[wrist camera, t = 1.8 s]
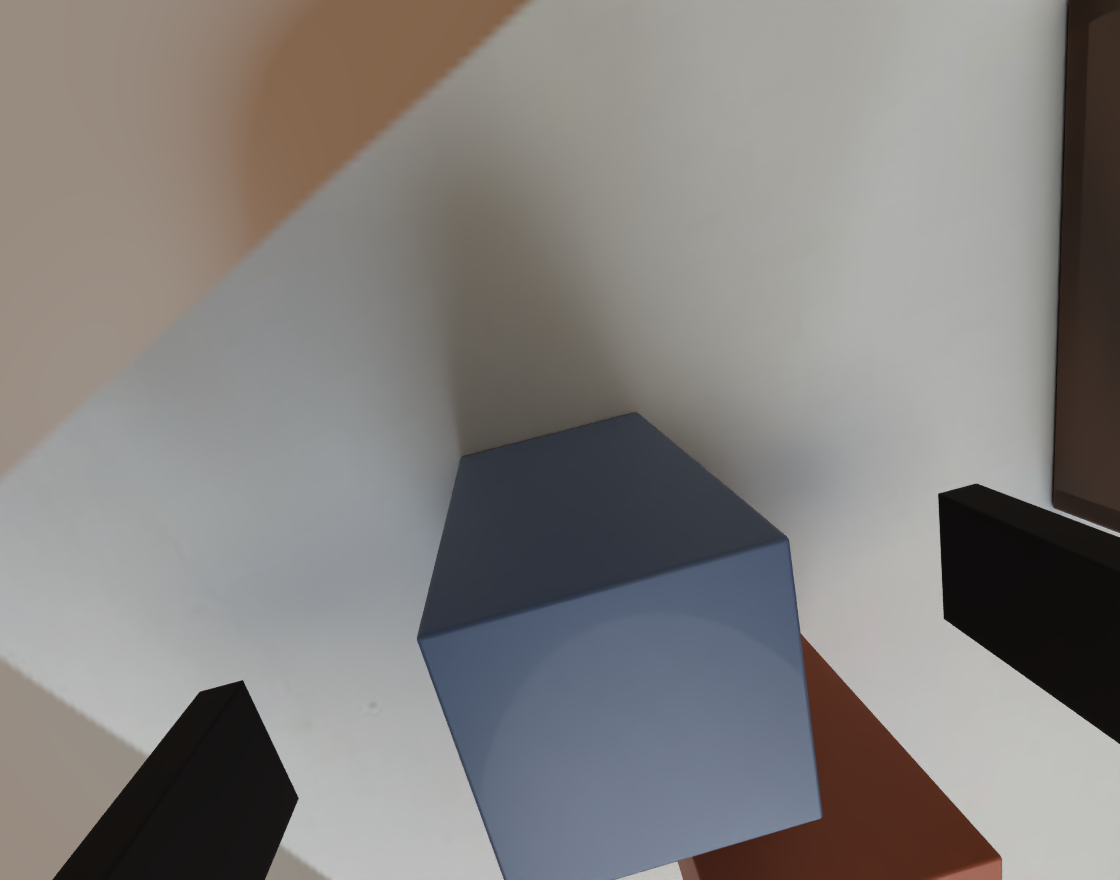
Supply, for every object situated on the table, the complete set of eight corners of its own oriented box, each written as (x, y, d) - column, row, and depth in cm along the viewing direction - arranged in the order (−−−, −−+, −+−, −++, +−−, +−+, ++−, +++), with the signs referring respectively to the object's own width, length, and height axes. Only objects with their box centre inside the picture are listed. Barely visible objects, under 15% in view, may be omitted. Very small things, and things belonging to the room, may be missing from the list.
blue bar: (460, 456, 14) (414, 638, 7) (637, 411, 15) (790, 536, 7) (507, 612, 16) (513, 912, 8) (668, 568, 16) (825, 819, 8)
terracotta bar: (617, 641, 16) (721, 943, 9) (770, 599, 17) (1003, 857, 9) (646, 765, 18) (759, 1119, 10) (788, 724, 18) (1002, 1041, 10)
